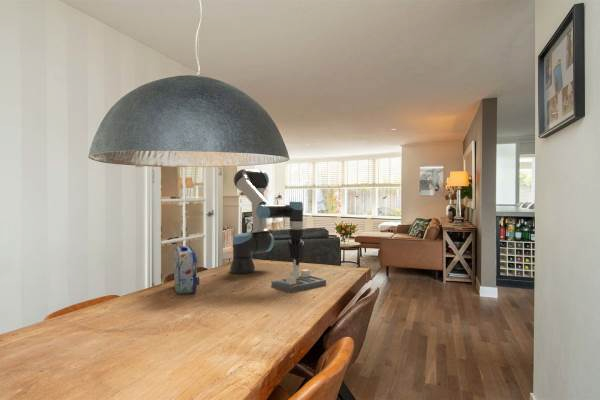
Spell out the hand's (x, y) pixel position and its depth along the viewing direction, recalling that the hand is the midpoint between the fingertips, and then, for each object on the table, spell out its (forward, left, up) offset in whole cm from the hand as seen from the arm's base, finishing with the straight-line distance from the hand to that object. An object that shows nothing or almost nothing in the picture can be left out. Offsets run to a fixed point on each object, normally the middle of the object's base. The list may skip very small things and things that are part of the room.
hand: (296, 270), depth 197 cm
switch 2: (+8, 0, -2) cm, 8 cm away
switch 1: (+15, -16, -2) cm, 22 cm away
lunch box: (-17, -57, -5) cm, 60 cm away
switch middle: (+8, -8, -2) cm, 11 cm away
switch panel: (+12, -8, -5) cm, 15 cm away
